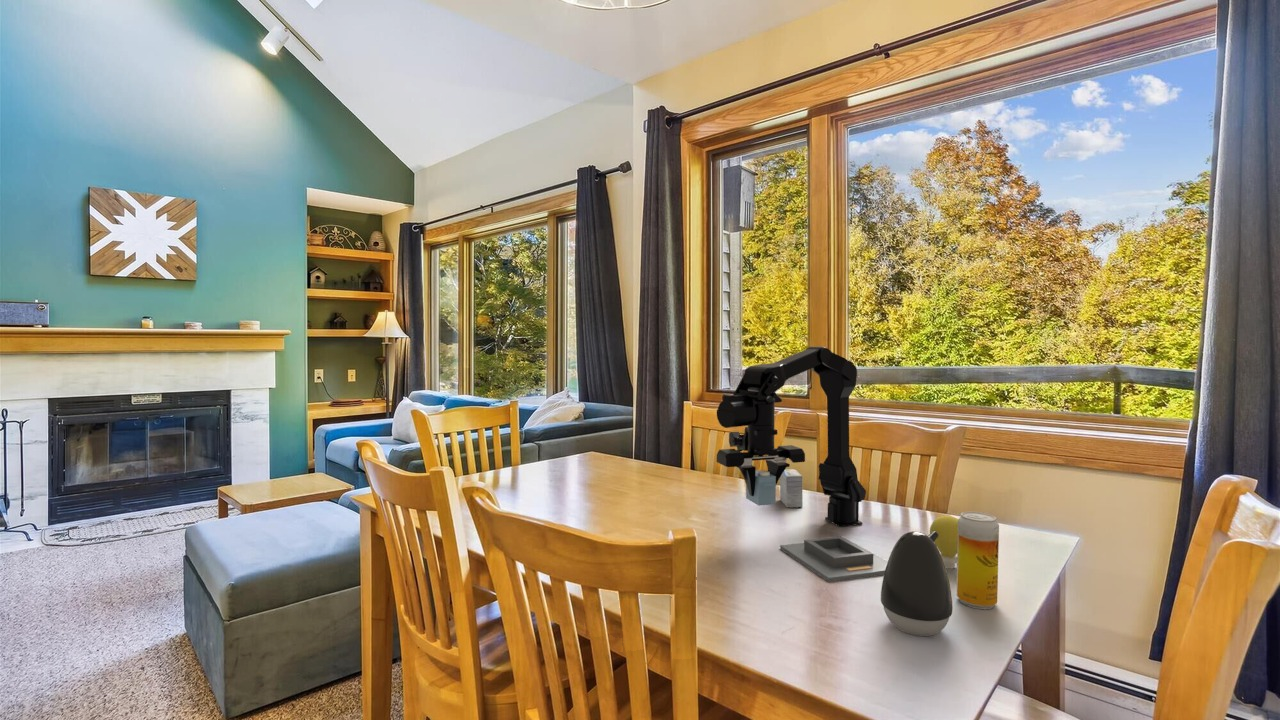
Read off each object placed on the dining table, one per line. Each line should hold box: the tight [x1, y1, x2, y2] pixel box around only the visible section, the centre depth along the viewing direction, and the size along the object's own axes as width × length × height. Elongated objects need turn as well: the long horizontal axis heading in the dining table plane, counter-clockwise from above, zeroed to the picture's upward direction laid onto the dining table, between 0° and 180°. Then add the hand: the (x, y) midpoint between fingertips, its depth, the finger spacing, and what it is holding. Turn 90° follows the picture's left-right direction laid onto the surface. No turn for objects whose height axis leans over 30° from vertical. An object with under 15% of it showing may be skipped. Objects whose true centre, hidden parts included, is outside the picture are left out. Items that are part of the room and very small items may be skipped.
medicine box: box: [779, 468, 804, 508], centre depth 163 cm, size 8×4×9 cm, turn 179°
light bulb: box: [929, 515, 959, 569], centre depth 119 cm, size 7×7×10 cm
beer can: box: [956, 511, 1000, 610], centre depth 102 cm, size 6×6×15 cm
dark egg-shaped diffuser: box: [880, 530, 953, 637], centre depth 94 cm, size 10×10×15 cm
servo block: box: [745, 470, 777, 506], centre depth 131 cm, size 4×8×7 cm, turn 16°
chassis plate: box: [779, 535, 888, 583], centre depth 122 cm, size 16×18×3 cm
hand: (760, 494), depth 131 cm, fingers closed on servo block, 4 cm apart
